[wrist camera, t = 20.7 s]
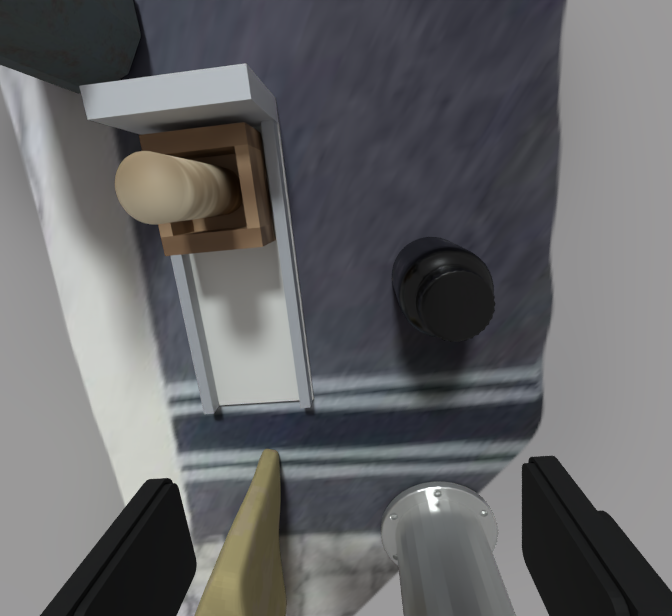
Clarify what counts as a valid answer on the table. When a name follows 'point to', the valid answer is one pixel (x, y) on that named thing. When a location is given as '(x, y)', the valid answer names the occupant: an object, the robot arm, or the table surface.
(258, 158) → the brown wooden open box
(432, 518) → the robot arm
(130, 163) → the dowel
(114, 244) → the table surface
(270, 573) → the cheese
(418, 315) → the supplement bottle
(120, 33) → the bottle
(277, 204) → the track
